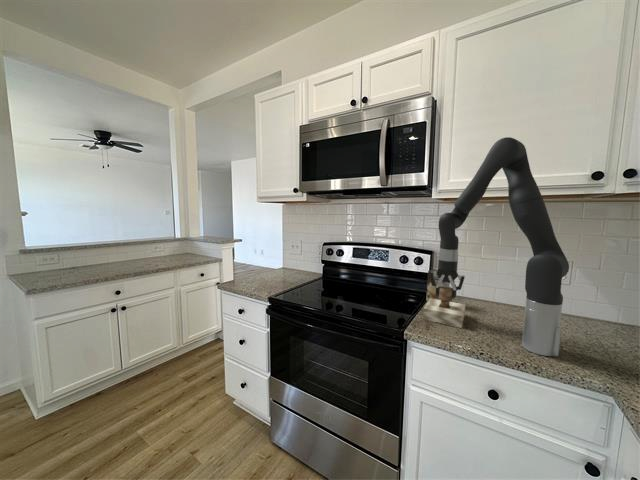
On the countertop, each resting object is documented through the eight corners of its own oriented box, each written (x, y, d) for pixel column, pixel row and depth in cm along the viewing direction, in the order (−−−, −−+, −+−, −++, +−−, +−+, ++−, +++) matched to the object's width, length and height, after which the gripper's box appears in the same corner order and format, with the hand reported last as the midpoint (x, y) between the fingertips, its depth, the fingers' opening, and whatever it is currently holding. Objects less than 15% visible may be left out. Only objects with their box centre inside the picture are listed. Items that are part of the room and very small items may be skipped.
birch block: (464, 315, 119) (465, 304, 118) (461, 328, 105) (462, 316, 105) (429, 308, 127) (430, 298, 126) (422, 319, 114) (423, 308, 113)
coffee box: (425, 300, 138) (427, 270, 136) (432, 298, 142) (434, 269, 140) (441, 305, 131) (443, 274, 129) (448, 303, 134) (450, 272, 133)
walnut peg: (452, 308, 117) (453, 287, 116) (450, 312, 112) (452, 290, 111) (438, 305, 120) (440, 285, 119) (437, 309, 115) (438, 288, 114)
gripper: (467, 259, 113) (464, 297, 115) (431, 256, 120) (429, 291, 122) (466, 262, 106) (463, 302, 108) (428, 258, 114) (426, 296, 116)
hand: (445, 296), depth 115 cm, fingers closed on walnut peg, 5 cm apart
